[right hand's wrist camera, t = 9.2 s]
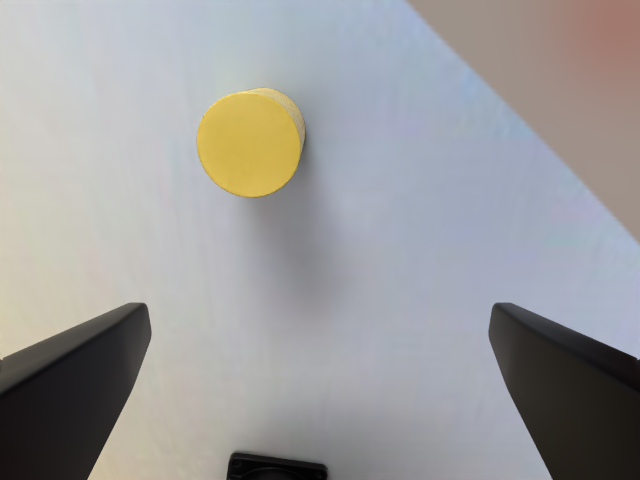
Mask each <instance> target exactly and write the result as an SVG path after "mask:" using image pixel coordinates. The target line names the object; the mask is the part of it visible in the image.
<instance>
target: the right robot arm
mask: <svg viewBox="0 0 640 480" xmlns="http://www.w3.org/2000/svg"><path fill="white" fill-rule="evenodd" d="M150 340H151V325H150V319H149V312H148V308H147V305H146V304H145V303H128V304H125V305H123V306H121V307H119V308H116V309H114V310H112V311H109V312H107V313H105V314H103V315H100V316H98V317H96V318H93V319H91V320H89V321H87V322H84V323H82V324H80V325H77V326H75V327H73V328H71V329H68V330H66V331H64V332H61V333H59V334H57V335H55V336H52V337H50V338H48V339H45V340H43V341H41V342H39V343H36V344H34V345H32V346H29V347H27V348H25V349H23V350H20V351H18V352H16V353H13V354H11V355H9V356H7V357H4V358H3V360H0V480H87V479H88V477H89V475H90V473H91V471H92V469H93V467H94V465H95V463H96V461H97V459H98V457H99V455H100V453H101V451H102V449H103V447H104V445H105V443H106V441H107V439H108V437H109V435H110V433H111V431H112V429H113V427H114V425H115V423H116V421H117V419H118V417H119V415H120V413H121V411H122V409H123V407H124V405H125V403H126V401H127V399H128V397H129V395H130V393H131V391H132V389H133V386H134V384H135V381H136V379H137V376H138V373H139V370H140V368H141V365H142V362H143V359H144V357H145V354H146V351H147V348H148V346H149V343H150ZM489 340H490V343H491V346H492V348H493V351H494V354H495V357H496V359H497V362H498V365H499V368H500V370H501V373H502V376H503V379H504V381H505V384H506V386H507V389H508V391H509V393H510V395H511V397H512V399H513V401H514V403H515V405H516V407H517V409H518V411H519V413H520V415H521V417H522V419H523V421H524V423H525V425H526V427H527V429H528V431H529V433H530V435H531V437H532V439H533V441H534V443H535V445H536V447H537V449H538V451H539V453H540V455H541V457H542V459H543V461H544V463H545V465H546V467H547V469H548V471H549V473H550V475H551V477H552V479H553V480H640V360H637V358H636V357H633V356H631V355H629V354H627V353H624V352H622V351H620V350H617V349H615V348H613V347H611V346H608V345H606V344H604V343H601V342H599V341H597V340H595V339H592V338H590V337H588V336H585V335H583V334H581V333H579V332H576V331H574V330H572V329H569V328H567V327H565V326H563V325H560V324H558V323H556V322H553V321H551V320H549V319H547V318H544V317H542V316H540V315H537V314H535V313H533V312H531V311H528V310H526V309H524V308H521V307H519V306H517V305H515V304H512V303H495V304H494V305H493V308H492V313H491V319H490V325H489ZM226 480H327V467H326V466H325V465H323V464H317V463H309V462H302V461H295V460H287V459H280V458H273V457H265V456H258V455H250V454H243V453H234V454H232V455H231V456H230V460H229V465H228V472H227V479H226Z"/></svg>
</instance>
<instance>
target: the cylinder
mask: <svg viewBox="0 0 640 480" xmlns="http://www.w3.org/2000/svg"><path fill="white" fill-rule="evenodd" d="M304 139H305V124H304V120H303V117H302V114H301V112H300V110H299V109H298V107H297V106H296V104H295V103H294V102H293V101H292V100H291V99H290V98H289V97H287V96H286V95H284V94H283V93H281V92H279V91H276V90H273V89H269V88H255V89H251V90H247V91H243V92H239V93H234V94H231V95H228V96H225V97H223V98H222V99H220V100H218V101H217V102H216V103H214V104H213V105H212V106H211V107H210V108H209V109H208V110H207V112H206V113H205V114H204V116H203V118H202V120H201V122H200V125H199V128H198V133H197V150H198V155H199V159H200V162H201V164H202V166H203V168H204V170H205V171H206V173H207V174H208V176H209V177H210V178H211V179H212V180H213V181H214V182H215V183H216V184H217V185H218V186H220V187H221V188H222V189H224V190H226V191H228V192H230V193H232V194H235V195H238V196H242V197H262V196H266V195H269V194H272V193H274V192H276V191H277V190H279V189H280V188H282V187H283V186H284V185H285V184H286V183H287V182H288V181H289V180H290V179H291V178H292V176H293V175H294V173H295V171H296V169H297V167H298V164H299V160H300V156H301V152H302V148H303V144H304Z"/></svg>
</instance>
